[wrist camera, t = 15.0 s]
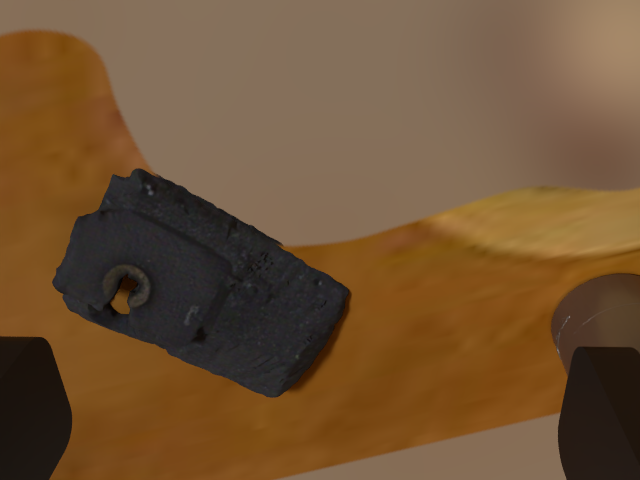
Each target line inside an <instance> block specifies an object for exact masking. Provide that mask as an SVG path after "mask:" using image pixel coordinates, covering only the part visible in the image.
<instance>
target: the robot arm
mask: <svg viewBox="0 0 640 480" xmlns="http://www.w3.org/2000/svg"><path fill="white" fill-rule="evenodd" d="M551 332H552V337H553V341H554V343H555V346H556V349H557V352H558V354H559V357H560V359H561V360H562V363H563V365H564V368H565V370H566V373H567V376H568V380H567V384H566V389H565V394H564V399H563V404H562V409H561V414H560V419H559V426H558V444H559V452H560V458H561V463H562V467H563V470H564V473H565V476H566V479H567V480H640V276H637V275H632V274H612V275H606V276H601V277H598V278H595V279H592V280H589V281H587V282H586V283H584V284H582V285H580V286H578V287H577V288H575V289H574V290H573V291H571V292H570V293H569V294H568V295H567V296H566V297H565V298H564V299H563V300H562V301H561V302H560V304H559V306H558V307H557V309H556V311H555V313H554V316H553V319H552V325H551ZM71 429H72V412H71V407H70V404H69V401H68V398H67V395H66V392H65V389H64V386H63V382H62V379H61V376H60V373H59V370H58V367H57V364H56V361H55V358H54V355H53V352H52V349H51V346H50V344H49V343H48V341H47V340H46V339H44V338H42V337H2V336H0V480H49V478H50V477H51V475H52V473H53V471H54V469H55V468H56V466H57V464H58V462H59V460H60V459H61V457H62V455H63V453H64V451H65V449H66V447H67V445H68V442H69V439H70V435H71Z"/></svg>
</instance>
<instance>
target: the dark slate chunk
mask: <svg viewBox="0 0 640 480" xmlns="http://www.w3.org/2000/svg"><path fill="white" fill-rule="evenodd" d="M156 176H157V177H155V176H153V175H151V174H150V173H148V172H146V171H145V170H143V169H135V170H133V171H132V174H131V176H130V177H126V178H124V177H120V176H117V175H114V174H113V175H112V177H111V181H110V184H109V187H108V189H107V191H106V193H105V195H104V198H103V200H102V203H101V205H100V207H99V209H98V210H97V211H96V212H94V213H92V214H86V215H84V216H79V217H78V218H77V220H76V222H75V224H74V227H73V230H72V233H71V236H70V243H69V245H68V247H67V250H66V255H65V257H64V259H63V261H62V263H61V265H60V266H59V267H58V268H57V269H56V276H55V277H54V279H53V281H52V283H53V286H54V287H55V289H56V290H57V291H59V292H60V293H63V294H64V295H63V300H64V302H65V303H66V305H67V307H68V309H69V310H70V311H72V312H74V313H77V314H79V315H80V316H81V317H83V318H84V319H86V320H88V321H91V322H93V323H96V324H98V325H100V326H103V327H105V328H108V329H110V330H113V331H116V332H118V333H122V334H125V335H127V336H129V337H132V338H135V339H138V340H141V341H144V342H148V343H151V344H156V345H157V346H159V347H161V348H163V349H166V350H167V352H168V354H170V355H171V356H174V357H177V358H179V359H181V360H182V361H184V362H186V363H189V364H192V365H194V366H197V367H200V368H202V369H205V370H208V371H209V372H211V373H212V374H215V375H220V376H223V377H226V378H228V379H230V380H232V381H234V382H237V383H238V384H240V385H241V386H243V387H246V388H248V389H250V390H252V391H254V392H256V393H260V394H263V395H265V396H267V397H278V396H280V395H281V394H283V393H284V392H285V391H287V390H288V389H289V388H290V387H291V386H292V385H293V384H295V383H296V382H297V381H298V380H299V379H300V377H301V376H302V374H303V373H304V372H305V371H306V370H307V369H308V368H310V366H311V364H312V363H313V362H314V360H315V358H316V356H317V355H318V353H319V352H320V351H321V350H322V349H323V348H324V346H325V345H326V343H327V341H328V339H329V337H330V335H331V334H332V331H333V329H334V324H335V323H337V322H338V321H339V319H340V318H341V316H342V313H343V310H344V308H345V299H346V296H347V295H348V292H349V290H348V289H347V288H346V287H345V286H343V285H342V284H341V283H338V282H336V281H335V280H334V279H333V278H332V277H331V276H329V275H328V274H326V273H324V272H321V271H318V270H316V269H314V268H311V267H310V266H308V265H306V264H305V262H304V261H303V260H301V259H298V258H297V257H295V256H294V255H293V254H291V253H290V252H287V251H285V250H283V249H281V248H280V247H279V246H283V244H282V243H281V242H279V241H277V240H275V239H273V238H271V237H269V236H267V235H266V234H264V233H263V232H261V231H259V230H258V229H256V228H255V227H254V226H253V225H248V224H246V223H244V222H243V221H241V220H239V219H238V218H236V217H235V216H233V215H230V214H228V213H227V212H226V211H224V210H222V209H220V208H217V207H216V206H215V205H214V204H213V203H211V202H208V201H206V200H204V199H202V198H201V197H199V196H196V195H194V194H192V193H190V192H189V191H188V190H187V189H186V188H185V187H183V186H181V185H177V184H175V183H173V182H172V181H170V180H166V179H164V178H163V177H161V176H160V175H158V174H156ZM126 274H128V278H130V279H133V280H134V281H135V282H137V283H138V284H137V287H136V288H134V289H133V290H131V291H130V294H129V297H128V300H127V303H128V305H129V307H130V312H129V314H120V313H118V312H116V311H115V310H114V309H113V308H112V306H111V305H110V303H109V302H110V301H111V300H112V298H113V297H114V296H115V294H116V293H117V291H118V289H119V287H120V285H121V283H122V279H123V277H124V276H125V275H126Z"/></svg>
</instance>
